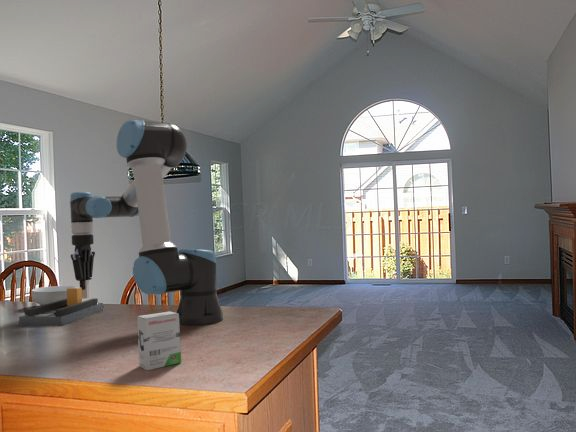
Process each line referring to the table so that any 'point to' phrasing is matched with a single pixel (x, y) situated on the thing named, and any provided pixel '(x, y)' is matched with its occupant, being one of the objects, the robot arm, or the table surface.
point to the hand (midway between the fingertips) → (84, 298)
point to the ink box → (159, 340)
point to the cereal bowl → (49, 294)
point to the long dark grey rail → (76, 307)
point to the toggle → (74, 295)
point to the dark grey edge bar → (45, 307)
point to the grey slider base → (51, 319)
